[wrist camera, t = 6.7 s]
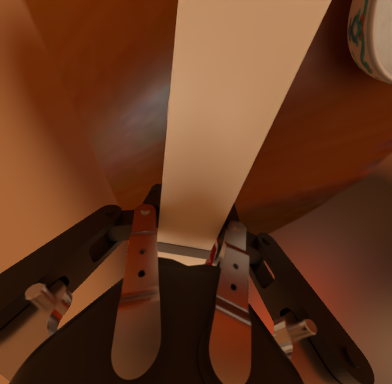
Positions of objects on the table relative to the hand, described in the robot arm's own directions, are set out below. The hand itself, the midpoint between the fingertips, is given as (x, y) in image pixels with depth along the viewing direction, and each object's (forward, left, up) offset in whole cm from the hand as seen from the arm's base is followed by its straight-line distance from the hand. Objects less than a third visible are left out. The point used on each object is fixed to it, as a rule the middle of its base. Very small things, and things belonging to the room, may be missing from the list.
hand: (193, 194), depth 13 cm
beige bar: (0, 0, -1) cm, 1 cm away
